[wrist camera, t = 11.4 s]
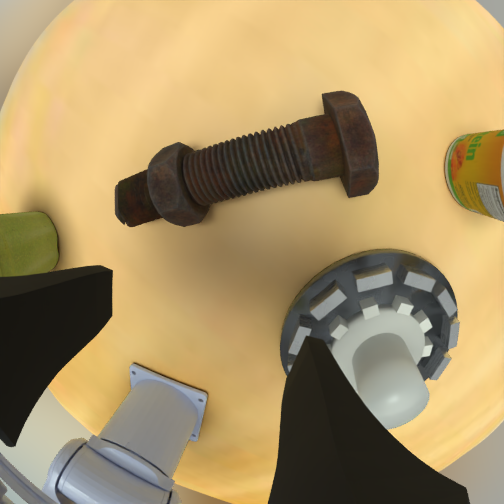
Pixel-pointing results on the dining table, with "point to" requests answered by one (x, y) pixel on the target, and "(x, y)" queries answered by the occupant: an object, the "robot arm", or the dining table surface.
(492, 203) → the supplement bottle
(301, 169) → the bolt
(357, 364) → the planet gear
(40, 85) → the dining table surface
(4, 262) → the plant pot
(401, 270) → the carrier
